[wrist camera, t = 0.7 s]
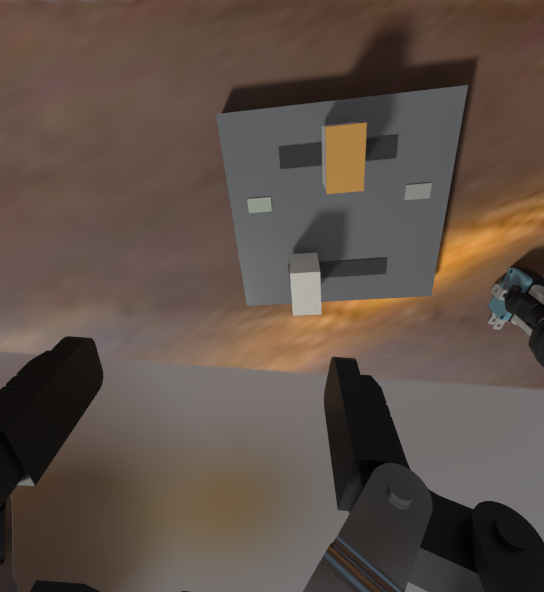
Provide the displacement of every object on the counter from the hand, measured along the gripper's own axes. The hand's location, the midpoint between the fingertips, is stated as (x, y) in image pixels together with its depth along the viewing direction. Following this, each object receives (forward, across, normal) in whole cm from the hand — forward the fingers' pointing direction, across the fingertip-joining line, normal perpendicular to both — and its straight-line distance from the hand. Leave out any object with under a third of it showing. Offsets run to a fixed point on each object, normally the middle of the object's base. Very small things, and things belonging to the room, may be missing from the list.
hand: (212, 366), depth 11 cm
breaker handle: (+19, -6, -5) cm, 20 cm away
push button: (+21, -25, +7) cm, 33 cm away
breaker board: (+21, -7, 0) cm, 22 cm away
